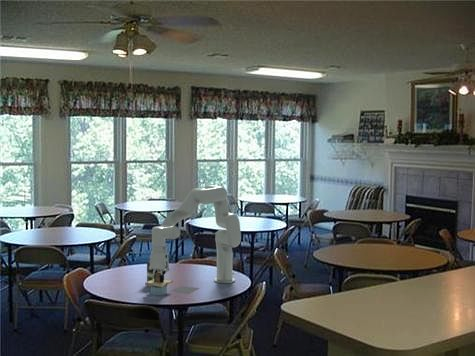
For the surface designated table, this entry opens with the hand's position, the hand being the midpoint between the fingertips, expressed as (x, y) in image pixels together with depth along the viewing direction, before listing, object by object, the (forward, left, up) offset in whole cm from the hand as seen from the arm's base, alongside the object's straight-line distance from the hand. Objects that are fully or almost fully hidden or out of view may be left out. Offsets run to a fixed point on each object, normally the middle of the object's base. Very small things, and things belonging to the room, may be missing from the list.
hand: (159, 281), depth 315 cm
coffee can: (-15, -12, -7) cm, 20 cm away
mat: (-12, +10, -7) cm, 17 cm away
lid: (0, 0, -1) cm, 1 cm away
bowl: (0, 0, -7) cm, 7 cm away
